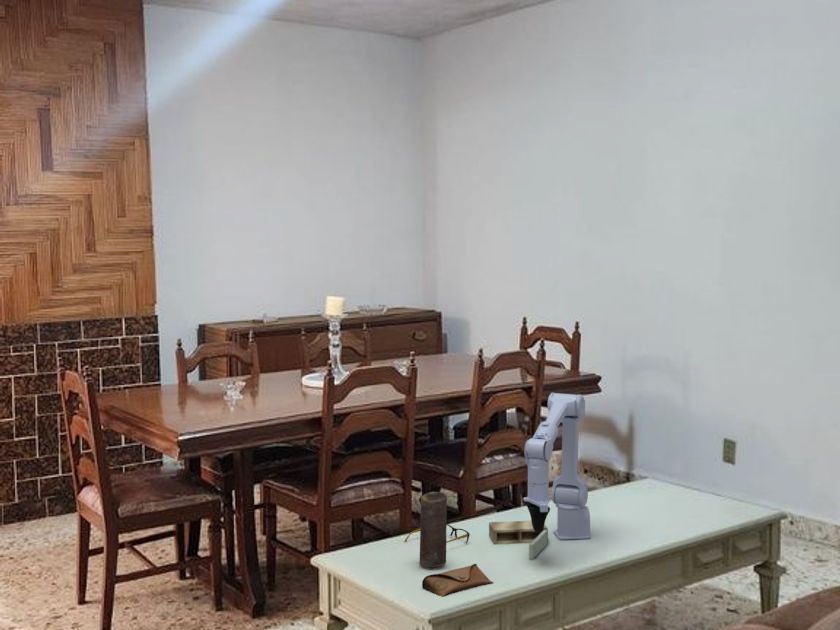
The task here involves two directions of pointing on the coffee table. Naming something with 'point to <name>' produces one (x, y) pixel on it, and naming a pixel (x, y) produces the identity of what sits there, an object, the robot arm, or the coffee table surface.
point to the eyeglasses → (450, 535)
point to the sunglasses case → (455, 580)
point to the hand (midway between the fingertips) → (538, 530)
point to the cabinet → (512, 532)
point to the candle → (433, 529)
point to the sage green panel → (538, 544)
